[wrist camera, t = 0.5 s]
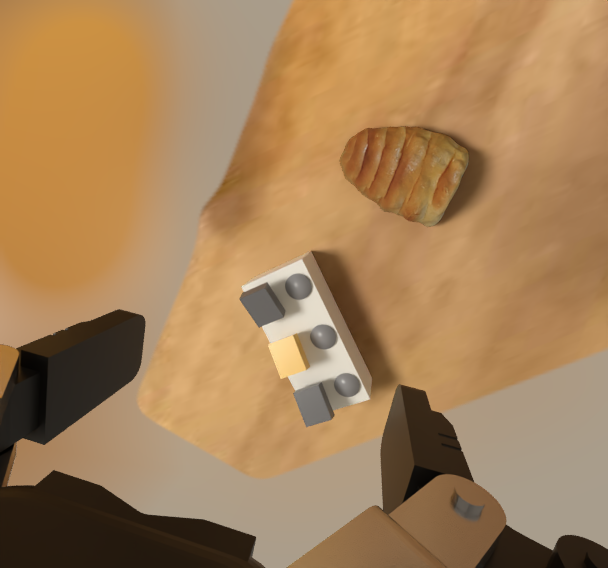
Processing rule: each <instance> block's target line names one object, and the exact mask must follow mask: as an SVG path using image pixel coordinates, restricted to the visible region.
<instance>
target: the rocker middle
mask: <svg viewBox="0 0 608 568" xmlns="http://www.w3.org/2000/svg"><path fill="white" fill-rule="evenodd" d="M268 346H269V349H270V351H271V354H272V357H273V359H274V362H275V364H276V367H277V370H278V372H279V375H280V377H281V379H282V378H285V377H288V376H291V375H294V374H297V373H299V372H302V371H305V370H307V369H308V368H310V365H309V362H308V360H307V357H306V355H305V352H304V350H303V347H302V345H301V342H300V339H299V337H298V334H297V333H296V334H293V335H291V336H288V337H286V338H283V339H280V340H278V341H275V342H273V343H270V344H268Z"/></svg>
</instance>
